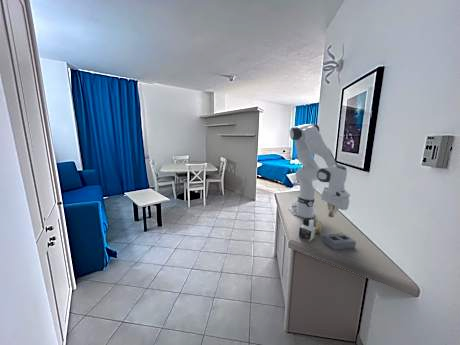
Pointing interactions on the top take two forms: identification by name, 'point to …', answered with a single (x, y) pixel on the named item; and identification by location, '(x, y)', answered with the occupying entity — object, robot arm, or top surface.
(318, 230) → the pin
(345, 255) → the top surface
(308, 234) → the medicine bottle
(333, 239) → the block
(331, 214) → the pin
